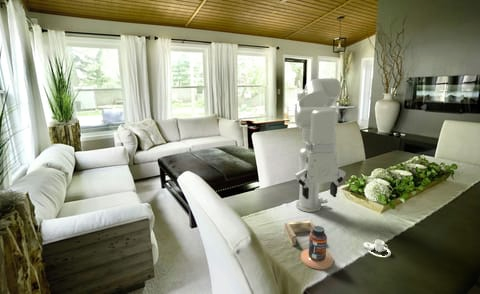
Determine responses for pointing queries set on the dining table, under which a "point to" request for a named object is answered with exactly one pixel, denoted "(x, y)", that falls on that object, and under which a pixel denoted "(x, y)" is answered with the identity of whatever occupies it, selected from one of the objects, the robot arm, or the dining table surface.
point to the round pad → (316, 264)
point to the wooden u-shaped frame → (297, 229)
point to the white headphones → (377, 247)
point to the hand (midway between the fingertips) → (319, 196)
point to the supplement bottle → (317, 244)
